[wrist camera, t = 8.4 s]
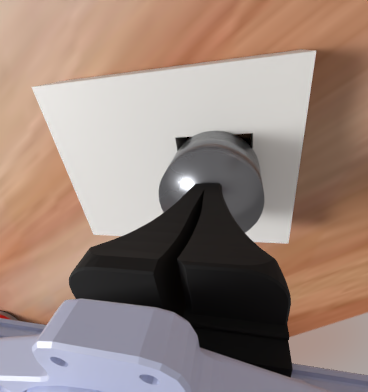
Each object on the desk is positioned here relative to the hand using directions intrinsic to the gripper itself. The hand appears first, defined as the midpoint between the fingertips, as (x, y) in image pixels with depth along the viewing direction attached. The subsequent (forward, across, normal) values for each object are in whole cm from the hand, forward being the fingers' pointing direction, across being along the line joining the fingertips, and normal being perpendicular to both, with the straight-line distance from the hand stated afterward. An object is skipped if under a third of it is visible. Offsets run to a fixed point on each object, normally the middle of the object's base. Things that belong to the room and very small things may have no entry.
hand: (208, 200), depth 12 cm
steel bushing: (+6, 0, 0) cm, 6 cm away
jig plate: (+6, +3, 0) cm, 7 cm away
